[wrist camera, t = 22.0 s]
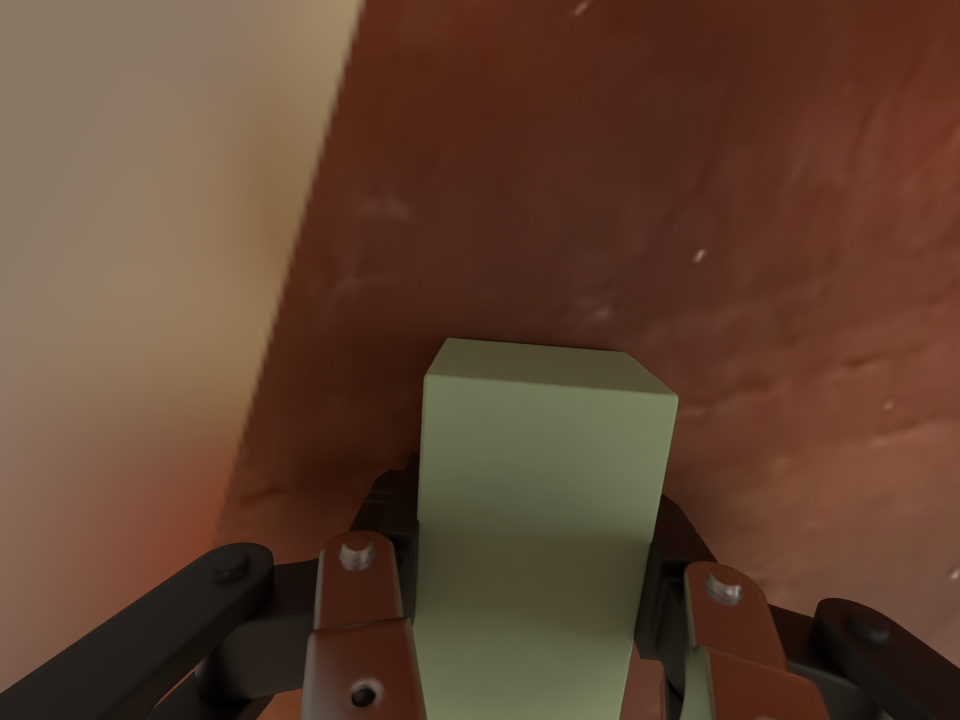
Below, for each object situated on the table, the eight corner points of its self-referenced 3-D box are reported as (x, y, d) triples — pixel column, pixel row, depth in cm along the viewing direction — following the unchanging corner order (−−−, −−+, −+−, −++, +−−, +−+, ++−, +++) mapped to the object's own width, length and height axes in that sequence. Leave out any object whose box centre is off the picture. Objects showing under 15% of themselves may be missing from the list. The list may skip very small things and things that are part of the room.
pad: (429, 607, 13) (406, 729, 10) (445, 336, 12) (423, 374, 8) (585, 622, 13) (614, 750, 10) (627, 351, 11) (681, 395, 8)
